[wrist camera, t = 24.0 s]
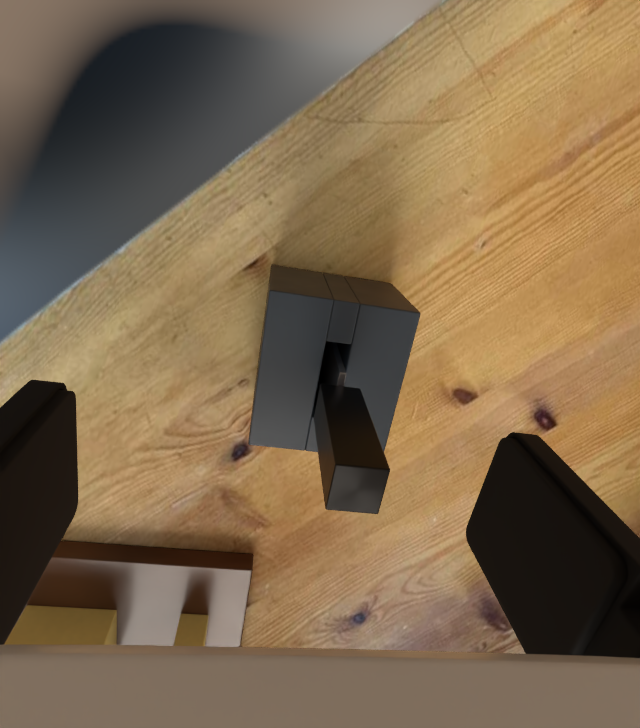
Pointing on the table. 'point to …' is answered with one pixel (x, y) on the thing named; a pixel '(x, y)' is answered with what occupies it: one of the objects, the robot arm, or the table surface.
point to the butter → (64, 626)
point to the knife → (347, 442)
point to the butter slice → (191, 630)
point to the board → (150, 589)
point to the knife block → (306, 348)
